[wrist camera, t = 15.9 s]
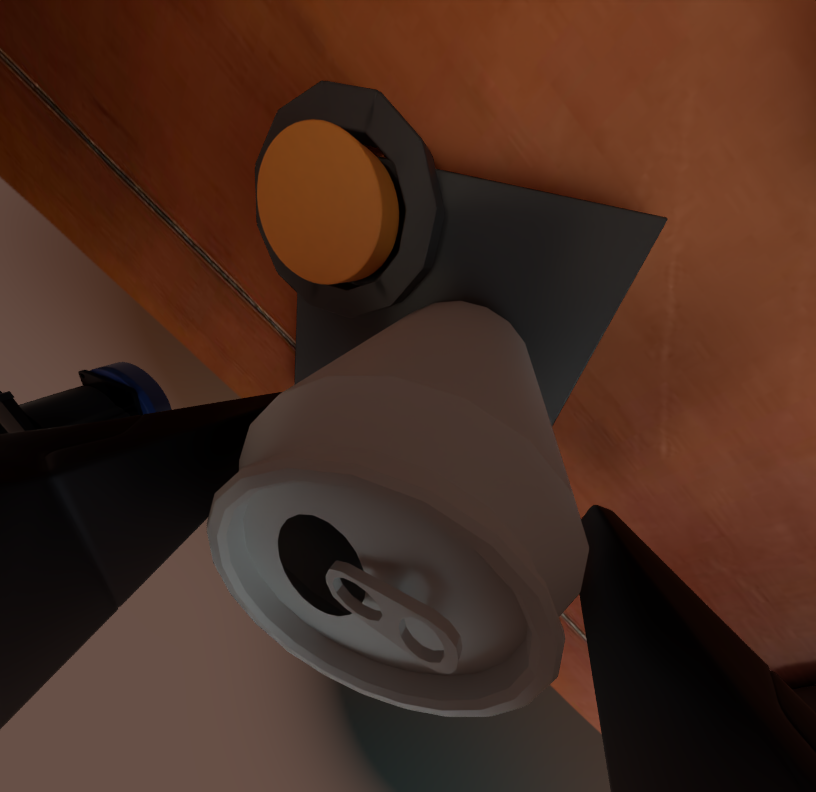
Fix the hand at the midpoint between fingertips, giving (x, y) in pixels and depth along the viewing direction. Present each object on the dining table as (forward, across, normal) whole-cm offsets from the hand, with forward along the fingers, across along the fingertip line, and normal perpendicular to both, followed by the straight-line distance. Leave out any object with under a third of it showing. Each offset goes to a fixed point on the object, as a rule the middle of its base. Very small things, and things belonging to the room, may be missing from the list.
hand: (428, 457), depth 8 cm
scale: (+9, +2, -2) cm, 9 cm away
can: (+8, 0, 0) cm, 8 cm away
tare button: (+6, +7, -5) cm, 11 cm away
